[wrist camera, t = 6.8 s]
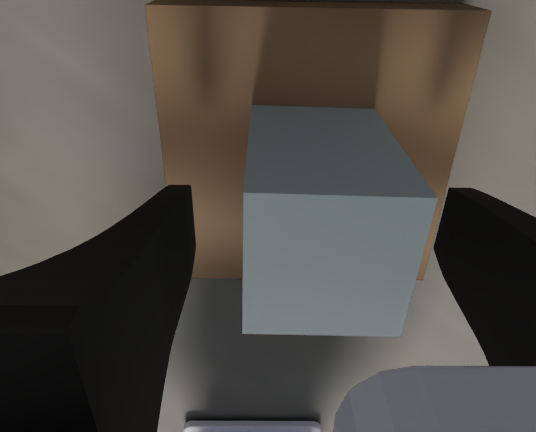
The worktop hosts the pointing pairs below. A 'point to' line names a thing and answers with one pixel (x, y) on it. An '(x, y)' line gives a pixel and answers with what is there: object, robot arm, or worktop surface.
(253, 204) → the block
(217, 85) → the base
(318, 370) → the worktop surface
